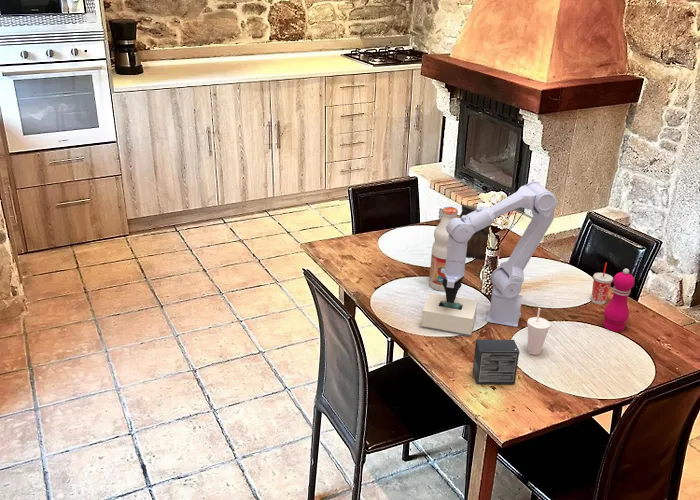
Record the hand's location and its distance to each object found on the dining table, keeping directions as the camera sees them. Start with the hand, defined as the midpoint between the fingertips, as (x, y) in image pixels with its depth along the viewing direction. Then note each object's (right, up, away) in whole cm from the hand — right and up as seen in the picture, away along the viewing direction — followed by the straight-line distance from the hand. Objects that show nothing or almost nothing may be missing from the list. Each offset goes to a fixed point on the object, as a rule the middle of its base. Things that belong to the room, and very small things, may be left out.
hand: (451, 298), depth 205 cm
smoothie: (+22, -15, -10) cm, 29 cm away
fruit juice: (+1, +2, +26) cm, 26 cm away
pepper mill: (+51, -9, +5) cm, 52 cm away
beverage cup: (+52, -2, +20) cm, 55 cm away
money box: (0, -8, +4) cm, 8 cm away
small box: (+8, -20, -22) cm, 31 cm away
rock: (+17, +13, +51) cm, 56 cm away
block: (0, -7, +3) cm, 8 cm away
